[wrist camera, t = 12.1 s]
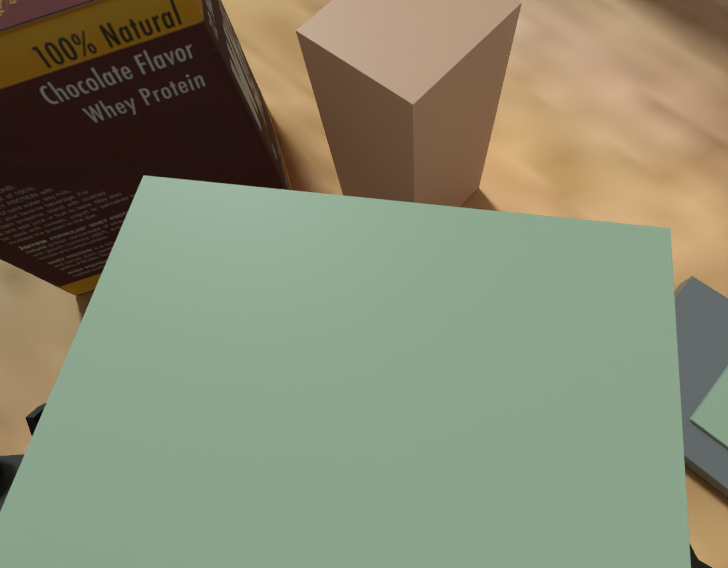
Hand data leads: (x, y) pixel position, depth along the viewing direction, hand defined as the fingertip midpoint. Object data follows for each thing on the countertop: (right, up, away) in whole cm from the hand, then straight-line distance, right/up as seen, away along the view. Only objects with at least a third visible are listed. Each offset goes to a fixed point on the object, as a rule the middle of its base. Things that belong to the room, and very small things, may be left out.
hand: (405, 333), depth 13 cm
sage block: (0, -5, +2) cm, 5 cm away
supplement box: (-14, +7, +17) cm, 23 cm away
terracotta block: (+2, +7, +15) cm, 16 cm away
